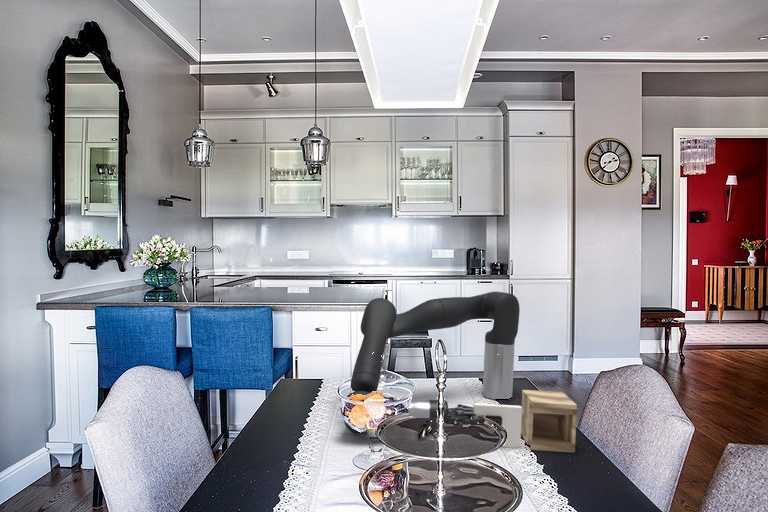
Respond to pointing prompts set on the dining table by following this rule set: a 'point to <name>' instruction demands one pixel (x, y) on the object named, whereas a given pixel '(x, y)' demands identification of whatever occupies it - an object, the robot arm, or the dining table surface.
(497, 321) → the robot arm
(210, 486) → the dining table surface
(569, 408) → the box
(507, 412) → the cover plate
